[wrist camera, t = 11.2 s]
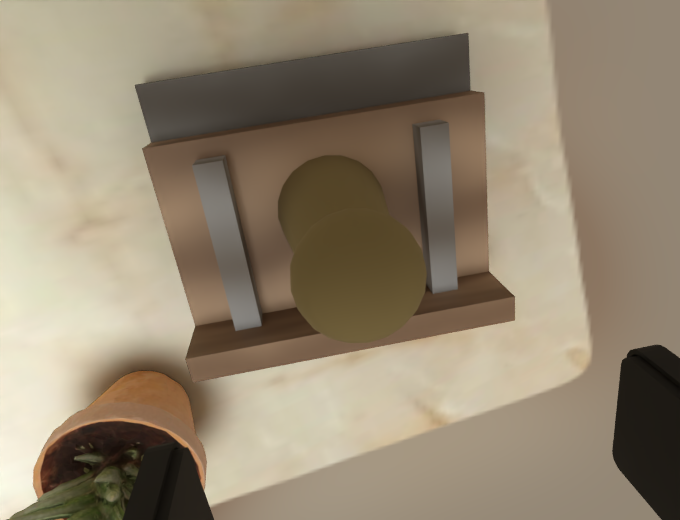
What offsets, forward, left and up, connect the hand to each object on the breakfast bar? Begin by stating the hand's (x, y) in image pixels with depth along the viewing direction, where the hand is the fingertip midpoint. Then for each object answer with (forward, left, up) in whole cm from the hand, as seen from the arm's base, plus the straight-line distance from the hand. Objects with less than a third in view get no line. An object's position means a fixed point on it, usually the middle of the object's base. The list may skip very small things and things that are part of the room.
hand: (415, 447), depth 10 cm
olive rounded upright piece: (0, 0, -18) cm, 18 cm away
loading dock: (0, 0, -22) cm, 22 cm away
